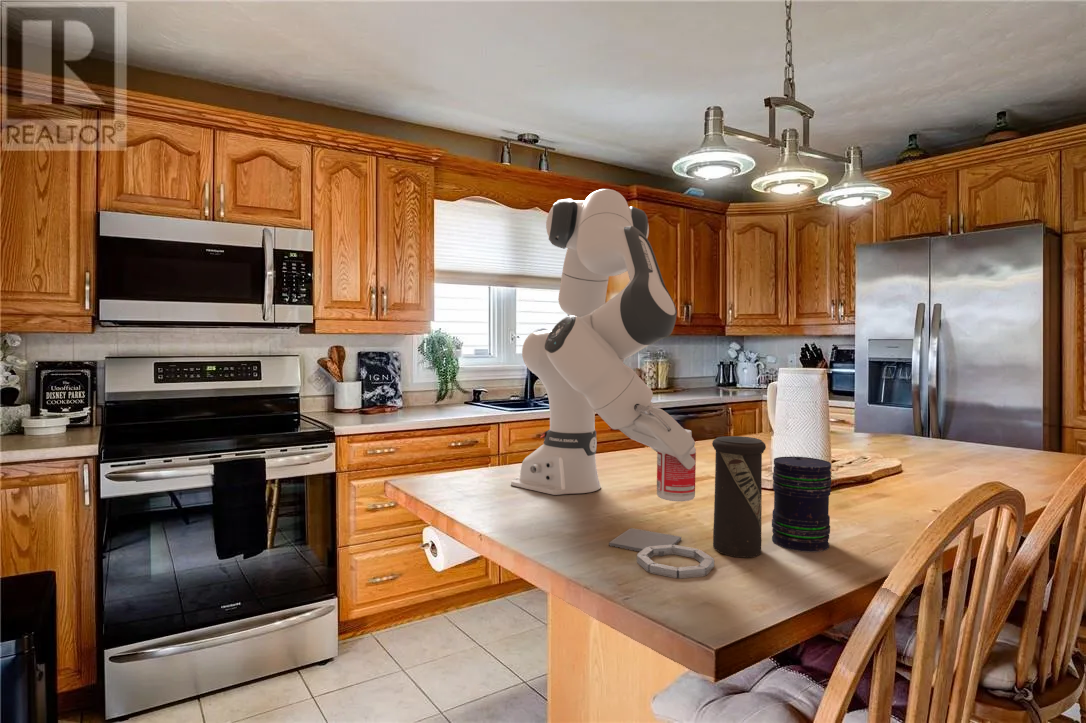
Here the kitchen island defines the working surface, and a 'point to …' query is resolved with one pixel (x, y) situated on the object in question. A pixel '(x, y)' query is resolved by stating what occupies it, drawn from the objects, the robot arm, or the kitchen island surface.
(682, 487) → the pill bottle
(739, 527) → the container
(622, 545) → the coaster
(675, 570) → the collar
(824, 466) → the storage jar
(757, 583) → the kitchen island surface
